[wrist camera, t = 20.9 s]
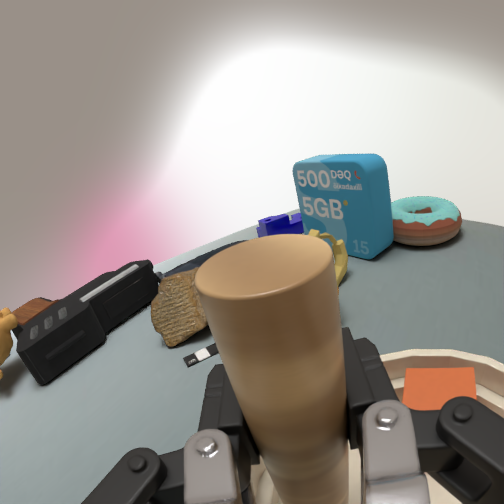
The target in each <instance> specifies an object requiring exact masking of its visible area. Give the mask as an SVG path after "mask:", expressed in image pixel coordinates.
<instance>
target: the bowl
mask: <svg viewBox="0 0 504 504" xmlns="http://www.w3.org/2000/svg"><path fill="white" fill-rule="evenodd" d="M380 358H381V360H382V362H383V365H384V366H385V369H386V371H387V373H388V376H389V378H390V380H391V383H392V385H393V387H394V390H395V392H396V395H397V397H398V399H399V400H400V401H401V403H402V397H403V389H404V381H405V372H406V368H461V367H474V373H475V383H476V395H477V401H479V402H480V403H482V404H483V405H485V406H486V407H488V408H489V409H491V410H492V411H494V412H495V413H497V414H498V415H500V416H501V417H503V418H504V364H502V363H500V362H498V361H496V360H494V359H492V358H489V357H485V356H480V355H475V354H471V353H466V352H462V351H457V350H452V349H412V350H411V349H410V350H405V351H400V352H394V353H389V354H383V355H380ZM348 445H349V501H348V504H361V471H360V464H361V458H360V454H359V450H358V449H353V450H351V449H350V444H349V440H348ZM425 474H426V477H427V480H428V486H429V494H430V503H431V504H462V503H461V502H460V501H459V500H457V499H456V498H455V497H454V496H453V495H452V494H450V493H449V492H448V491H447V490H446V489H445V488H443V487H442V486H441V485H440V484H439V483H438V482H437V481H435V480H434V479H433V478H432V477H431V476H430V475H429V474H428V473H427V472H425ZM251 480H252V483H253V488H254V494H255V499H256V504H283V503H282V501H281V499H280V497H279V495H278V492H277V490H276V488H275V486H274V484H273V482H272V479H271V477H270V475H269V473H268V471H267V468H266V466H265V464H264V462H263V460H262V457H261V455H260V464H259V465H251Z"/></svg>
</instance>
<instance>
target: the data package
mask: <svg viewBox="0 0 504 504" xmlns="http://www.w3.org/2000/svg"><path fill="white" fill-rule="evenodd" d="M293 177H294V181H295V186H296V191H297V196H298V202H299V207H300V212H301V217H302V223H303V228H304V234H305V235H308V234H309V232H310V230H311V229H314V230H318V231H319V232H320V234H323V233H325V232H326V233H328V234H330V235H333V237H334V238H335V240H336V241H338V240H341V239H342V240H343V241H344V244H345V248H346V251H347V255H351V256H355V257H359V258H363V259H372V258H374V257H375V256H376V255H378V254H379V253H380V252H382V251H383V250H384V249H386V248H387V247H388V246H389V245H391V244H392V242H393V239H394V234H393V220H392V209H391V199H390V189H389V181H388V173H387V166H386V164H385V161H384V160H383V158H382V157H381V156H379V155H377V154H335V155H318V156H315V157H312V158H309V159H305V160H302V161H299V162H297V163H295V164H294V167H293ZM322 240H324V241H325V242H327V243H328V245H329V246H330V247H331V249H332V245H333V243H332V242H331V241H330V240H329V239H328V238H326V239H322ZM332 251H333V249H332Z"/></svg>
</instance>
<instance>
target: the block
mask: <svg viewBox="0 0 504 504" xmlns="http://www.w3.org/2000/svg"><path fill="white" fill-rule="evenodd" d="M458 396H467V397H471V398H474V399H476V400H477V395H476V383H475V373H474V367H461V368H406V372H405V381H404V389H403V397H402V403H403V404H405V405H406V406H407V407H409V408H411V409H414V410H440V409H441V408H442V406H443V405H444V404H445V403H446V402H447V401H448V400H450V399H452V398H454V397H458Z"/></svg>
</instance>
